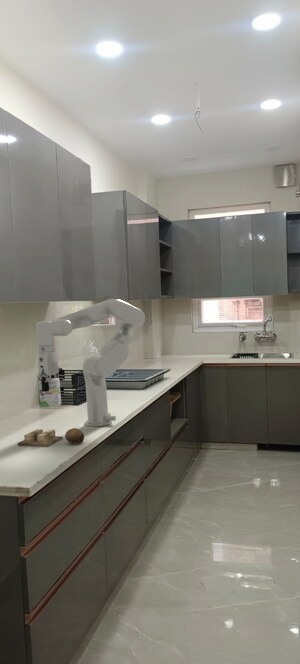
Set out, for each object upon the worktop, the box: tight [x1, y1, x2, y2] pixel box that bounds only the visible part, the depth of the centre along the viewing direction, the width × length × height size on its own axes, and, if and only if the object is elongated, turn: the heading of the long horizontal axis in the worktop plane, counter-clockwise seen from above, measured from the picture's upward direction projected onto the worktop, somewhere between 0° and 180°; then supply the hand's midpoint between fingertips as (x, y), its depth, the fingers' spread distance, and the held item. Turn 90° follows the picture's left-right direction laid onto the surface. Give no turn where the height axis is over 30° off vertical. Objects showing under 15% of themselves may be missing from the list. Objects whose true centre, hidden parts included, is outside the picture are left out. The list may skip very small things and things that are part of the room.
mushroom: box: [64, 427, 85, 445], centre depth 204 cm, size 8×8×6 cm
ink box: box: [38, 377, 62, 408], centre depth 224 cm, size 8×5×12 cm, turn 89°
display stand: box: [17, 428, 63, 448], centre depth 209 cm, size 12×14×4 cm
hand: (49, 389), depth 224 cm, fingers closed on ink box, 6 cm apart
